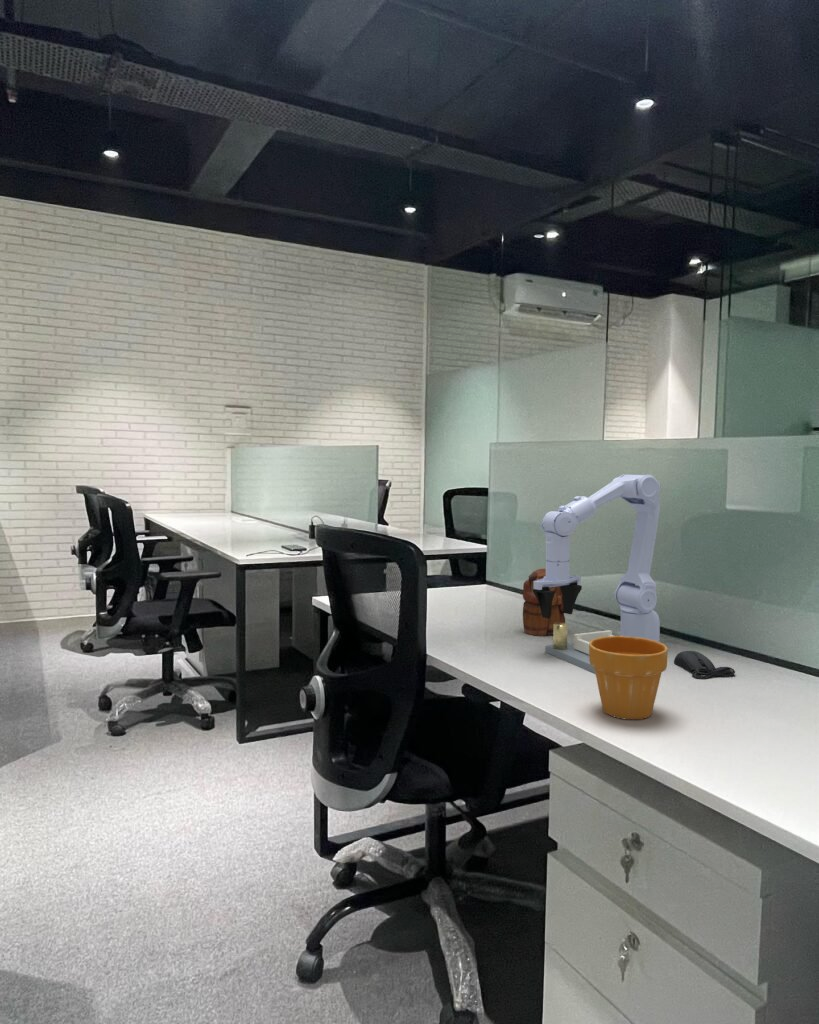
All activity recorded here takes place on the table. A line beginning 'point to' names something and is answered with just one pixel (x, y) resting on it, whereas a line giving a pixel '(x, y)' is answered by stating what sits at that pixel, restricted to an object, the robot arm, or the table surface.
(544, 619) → the wooden figurine
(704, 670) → the computer mouse
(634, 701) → the flower pot
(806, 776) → the table surface
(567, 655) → the base board
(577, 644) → the frame
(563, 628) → the pin
